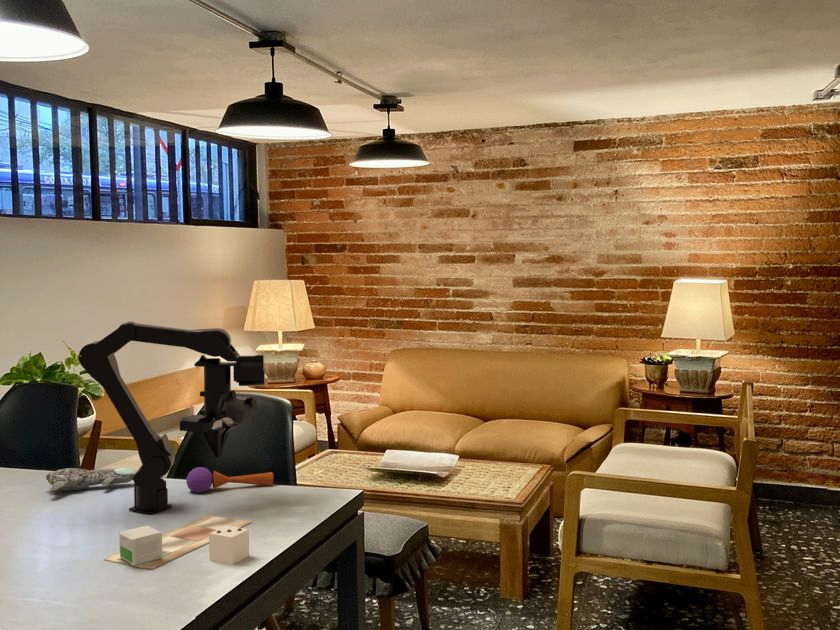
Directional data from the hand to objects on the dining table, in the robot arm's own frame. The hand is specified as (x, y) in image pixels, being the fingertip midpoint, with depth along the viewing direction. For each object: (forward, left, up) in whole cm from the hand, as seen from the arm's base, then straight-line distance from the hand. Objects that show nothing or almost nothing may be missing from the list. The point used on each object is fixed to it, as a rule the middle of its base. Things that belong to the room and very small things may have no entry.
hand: (218, 457), depth 180 cm
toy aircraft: (-36, -1, -11) cm, 38 cm away
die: (+22, -25, -11) cm, 35 cm away
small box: (+9, -33, -11) cm, 36 cm away
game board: (+8, -21, -11) cm, 25 cm away
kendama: (-7, +13, -12) cm, 19 cm away
